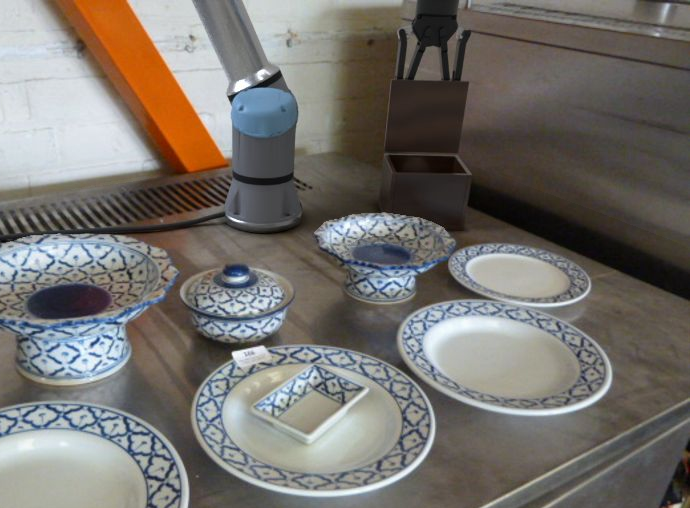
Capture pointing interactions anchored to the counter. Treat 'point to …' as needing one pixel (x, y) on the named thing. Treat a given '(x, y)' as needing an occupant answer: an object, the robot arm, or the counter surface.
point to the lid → (425, 115)
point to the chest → (426, 188)
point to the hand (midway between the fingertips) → (421, 121)
